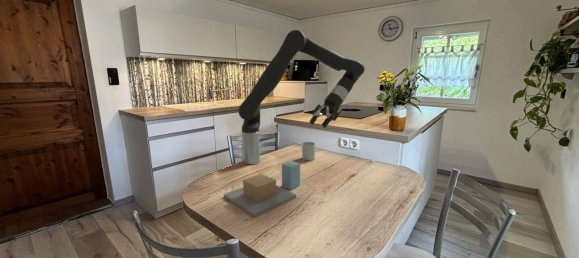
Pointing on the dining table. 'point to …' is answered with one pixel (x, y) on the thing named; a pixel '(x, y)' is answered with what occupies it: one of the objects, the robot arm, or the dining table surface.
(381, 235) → the dining table surface
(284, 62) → the robot arm
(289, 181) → the tower block
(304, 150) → the cup
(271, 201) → the tower base
